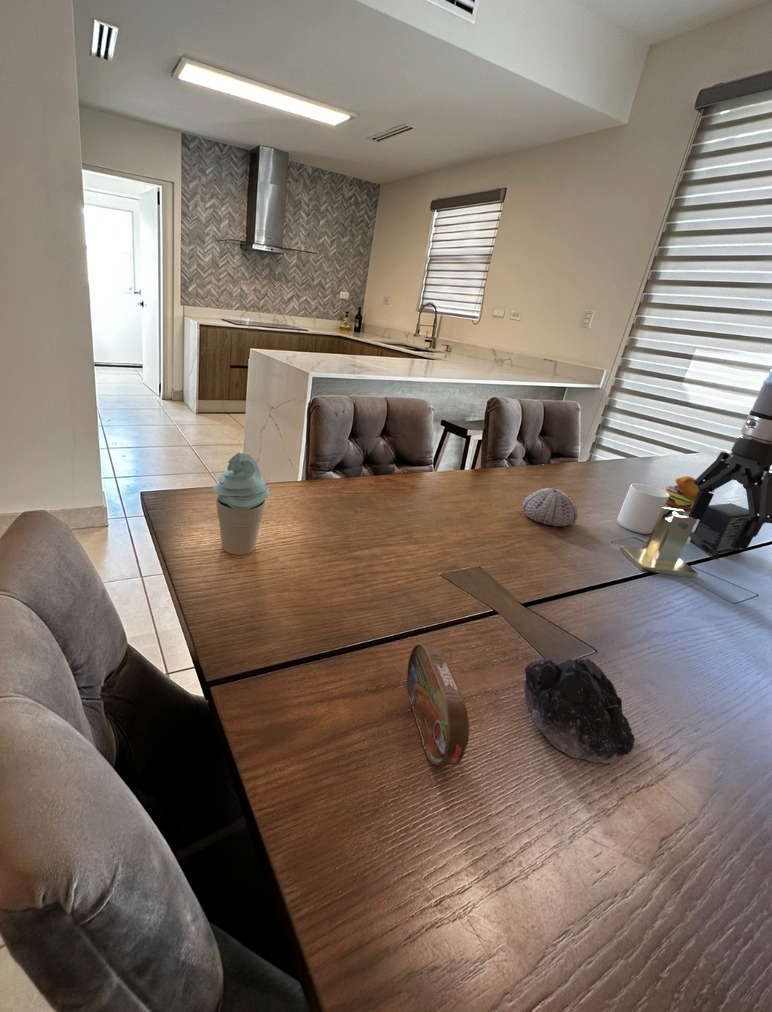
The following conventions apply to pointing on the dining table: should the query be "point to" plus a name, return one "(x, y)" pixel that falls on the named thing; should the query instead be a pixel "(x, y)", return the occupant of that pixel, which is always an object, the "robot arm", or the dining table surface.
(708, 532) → the small box
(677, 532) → the bracket
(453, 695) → the tin
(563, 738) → the crystal cluster
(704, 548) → the lever
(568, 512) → the sea urchin shell
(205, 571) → the dining table surface
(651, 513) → the mug
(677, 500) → the cheeseburger
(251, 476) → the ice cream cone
